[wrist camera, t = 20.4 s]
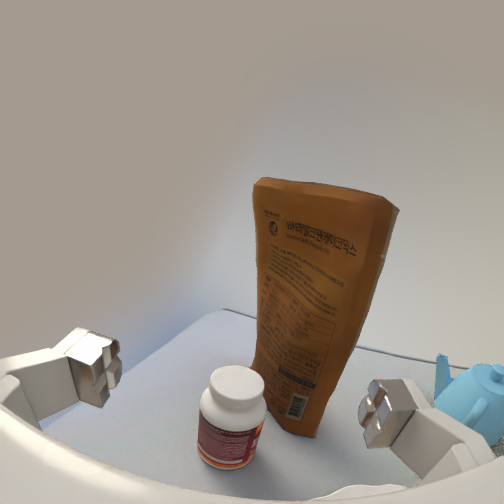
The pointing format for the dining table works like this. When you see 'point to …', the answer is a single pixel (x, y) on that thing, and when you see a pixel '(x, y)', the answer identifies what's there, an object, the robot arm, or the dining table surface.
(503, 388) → the teapot
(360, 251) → the pancake mix bag
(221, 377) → the pill bottle
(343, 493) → the plate
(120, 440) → the dining table surface
